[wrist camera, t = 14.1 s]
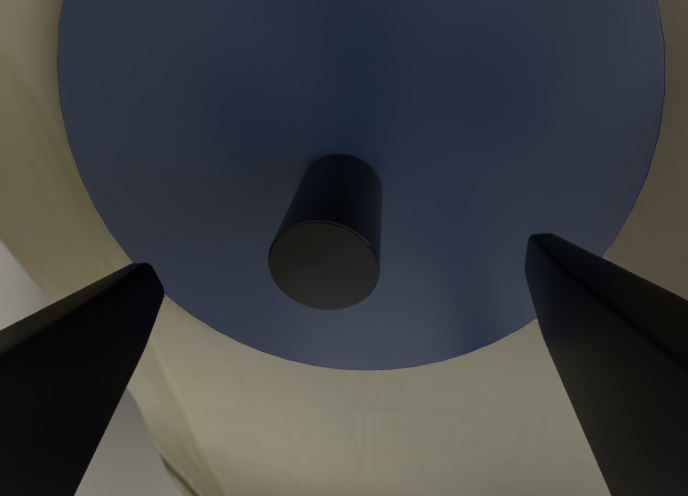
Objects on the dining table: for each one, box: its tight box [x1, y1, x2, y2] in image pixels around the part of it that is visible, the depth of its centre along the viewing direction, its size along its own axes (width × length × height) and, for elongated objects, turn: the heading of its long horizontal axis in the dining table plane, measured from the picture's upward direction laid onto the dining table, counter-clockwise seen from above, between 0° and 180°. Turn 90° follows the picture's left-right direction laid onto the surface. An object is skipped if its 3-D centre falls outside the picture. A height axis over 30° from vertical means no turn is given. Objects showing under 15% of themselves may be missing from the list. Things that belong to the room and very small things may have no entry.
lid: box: [57, 0, 665, 370], centre depth 11 cm, size 18×18×5 cm
